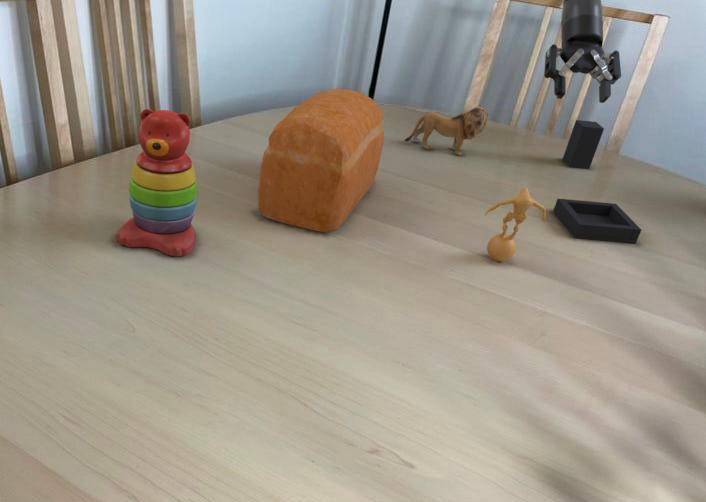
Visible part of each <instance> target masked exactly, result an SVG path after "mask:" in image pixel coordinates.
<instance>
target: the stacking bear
mask: <svg viewBox="0 0 706 502" xmlns="http://www.w3.org/2000/svg"><path fill="white" fill-rule="evenodd" d="M139 116H140V120H141V123H140V126H139V129H138V141H139V144H140V147H141V149H142V152H140V154H139V155H137V157H136V160H135V161H134V163H133V167H132V171H131V177H130V180H129V187H128V193H129V194H128V198H129V204H130V209H131V211H132V218H130V219H129V220H127V221H126V222H125V223H123V225H121V226H120V227H119V229H118V230H117V232H116V237H115V239H116V241H117V242H118V244H120V245H121V246H125V247H128V248H150V249H154V250H158V251H160V252H161V253H163V254H164V255H167V256H172V257H184V256H187V255H189V254H190V253H192V250H193V249H194V247H195V245H196V231H195V228H194V226H193V224H192V222H193V220H194V216H195V211H196V208H197V203H198V195H199V192H198V191H199V190H198V182H197V179H196V171H195V167H194V165H193V162H192V158H190V156H189V154H188V153H186V151H187V149H188V146H189V143H190V137H191V132H190V124H191V119H190V116H189V115H188V114H187V113H185V112H179V113H178V112H175V111H172V110H167V109H161V110H160V109H159V110H156V111H155V110H152V109H150V108H145V109H143V110H142V111H141V112H140V115H139Z"/></svg>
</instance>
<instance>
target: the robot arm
mask: <svg viewBox="0 0 706 502" xmlns="http://www.w3.org/2000/svg"><path fill="white" fill-rule="evenodd" d="M603 15H604V13H603V4H602V0H562V11H561V18H560V19H561V21H560V26H561V27H560V28H561V29H560V30H561V48H560V47H558V45H556V44H555V43H554V44H553V43H552V45H551V46H550V47H549V48H548V49H547V51H545V55H544V58H545V59H544V72H543V76H544V78H545V79H549V78H550V79H551V80H552V81H553V82H554V83H553V89H554V91H553V92H554V96H556V99H559V100H562V99H563V97H565V95H566V92H567V91H566V87H567V85H566V78H567V77H566V76H565V75H566V74H567V73H568V71H569V70H570V71H571V72H572V73H573V74H574V73H575V74H579V73H581V74H584V75H588V74H589V75H590V76H591V78H592V79H594V80H596V82H597V83H598V84H599V86H598V95H599V96H598V102H599V104H604V103H605V102H606V101H608V99H610V98H611V96H612V85H614V84H615V83H616V82H617V81H618V80H620V78H621V77H622V69H621V57H620V51H618V50H614V51H613V52H605V50H604V48H603V44H604V16H603ZM559 57H560V59H561V60H562V62H563V63H564V65H563V66H562V67H561V68H560V70H558V69H557V59H558V58H559ZM596 68H597V69H596Z"/></svg>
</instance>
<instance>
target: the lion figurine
mask: <svg viewBox="0 0 706 502" xmlns="http://www.w3.org/2000/svg"><path fill="white" fill-rule="evenodd" d="M489 113H490V112H489V111H487V109H486V108H484V107H482V106H475V107H473V108H471V109H470V110H469V111H466V112H462V113H460V114H458V115H456V116H453V117H449V116H445V115H443V114H440V113H438V112H435V111H428V112H426V113H424V114H422V116H421V117H420V118H419V119H418V120H417V123H416V124H415V126H414V129H413V131H412V133H411V134H410V135H409V136H408V137H406V138H405V139H404V140H403V141H404V142H409V141H411V140H412V141H413V142H414V143H420V141H422V145H423V148H424V149H425V150H427V151H428V150H431V145H429V144H428V139H429V137H430V136H431V135H432V133H433V131H434V130H435V131H436V132H437V134H438V135H439V134H440V135H441V136H443V137H446V138H453V143H452V151H454V154H455V155H456V156H462V155H463V153H462V152H461V147H462V146H463V143H464V141H465V140H472V139H473V138H475V137H476V136H477V135H479V134H480V133H482V132H483V131H484V129H485V128H486V127H487V124H488V118H489ZM421 124H422V125H421ZM421 134H423V136H422V138H421V140H420V138H418V137H419V136H420V135H421Z"/></svg>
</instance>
